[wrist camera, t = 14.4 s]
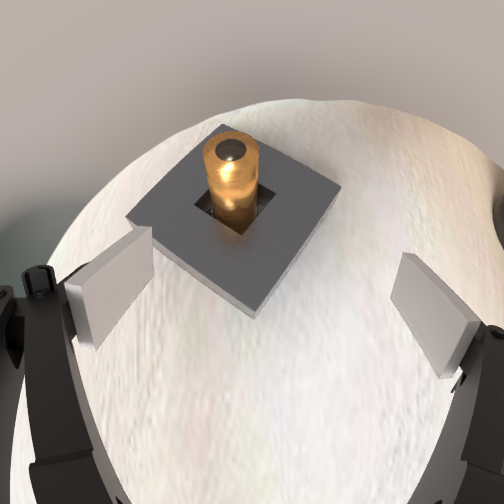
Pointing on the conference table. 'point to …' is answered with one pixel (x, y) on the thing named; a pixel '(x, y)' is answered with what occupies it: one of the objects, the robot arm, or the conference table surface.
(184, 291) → the conference table surface
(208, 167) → the bushing
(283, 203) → the jig
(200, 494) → the conference table surface
